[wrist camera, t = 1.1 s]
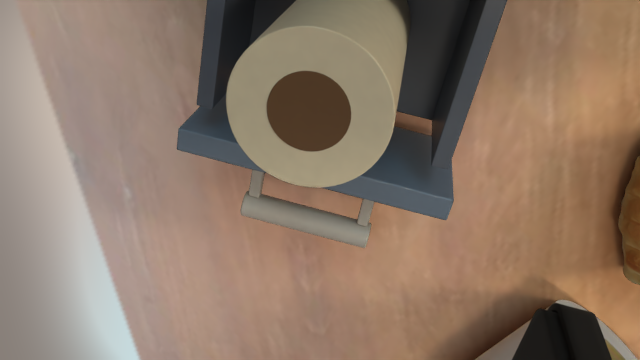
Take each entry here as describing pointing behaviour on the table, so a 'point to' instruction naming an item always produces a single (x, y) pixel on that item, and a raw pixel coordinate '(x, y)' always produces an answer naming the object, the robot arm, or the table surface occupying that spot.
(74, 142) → the table surface
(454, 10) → the drawer
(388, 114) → the paper roll
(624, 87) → the table surface
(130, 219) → the table surface
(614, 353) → the toilet paper
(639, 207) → the pastry
